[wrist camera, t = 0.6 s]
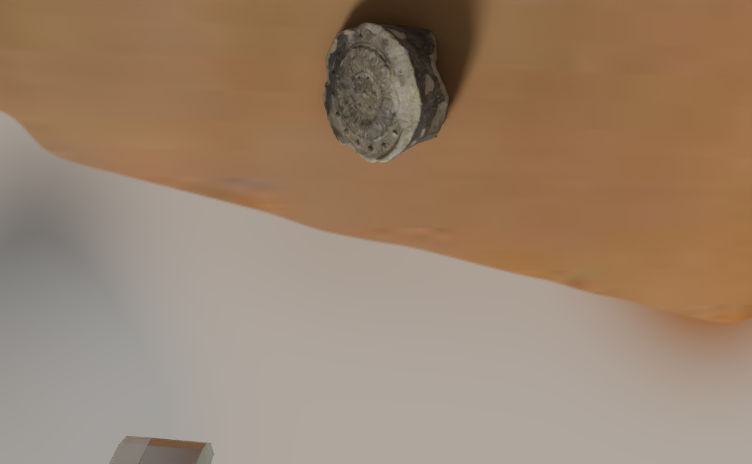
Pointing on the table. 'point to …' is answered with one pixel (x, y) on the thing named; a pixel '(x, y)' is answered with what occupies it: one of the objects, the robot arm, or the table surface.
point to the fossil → (384, 89)
